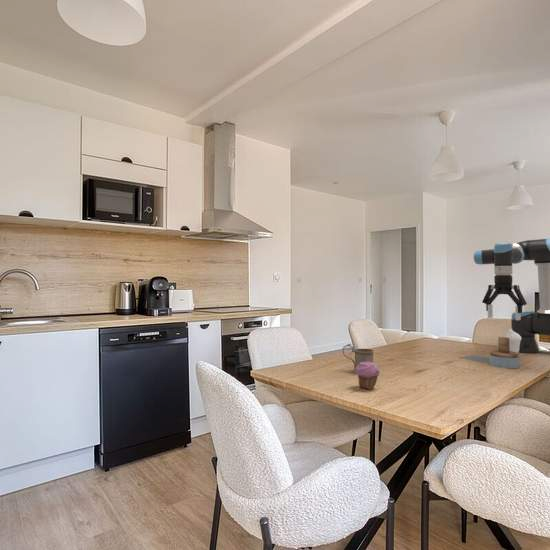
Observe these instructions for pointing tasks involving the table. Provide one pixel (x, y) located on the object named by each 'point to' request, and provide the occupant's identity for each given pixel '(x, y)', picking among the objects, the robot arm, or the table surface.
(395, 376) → the table surface
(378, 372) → the cupcake
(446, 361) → the table surface
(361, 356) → the mug
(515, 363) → the bowl
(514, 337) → the soft serve ice cream cone
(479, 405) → the table surface
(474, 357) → the mat
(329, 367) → the table surface
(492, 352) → the lid
